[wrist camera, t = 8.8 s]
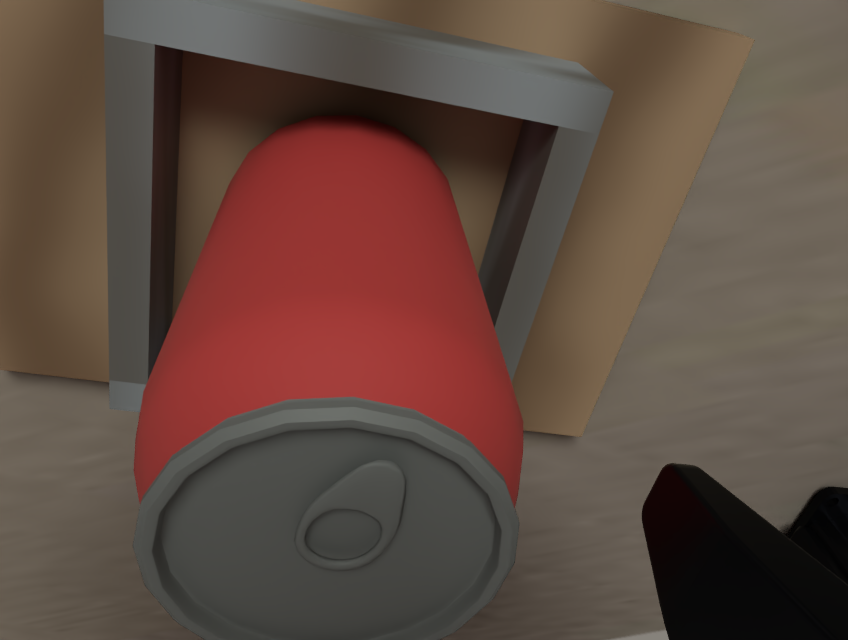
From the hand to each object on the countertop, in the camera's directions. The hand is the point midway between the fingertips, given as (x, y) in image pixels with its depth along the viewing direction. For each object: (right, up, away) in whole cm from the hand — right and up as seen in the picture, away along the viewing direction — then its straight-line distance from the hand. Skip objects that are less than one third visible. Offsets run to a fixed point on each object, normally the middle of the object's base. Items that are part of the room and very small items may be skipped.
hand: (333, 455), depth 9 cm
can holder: (-1, +5, +12) cm, 13 cm away
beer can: (-1, +5, +12) cm, 13 cm away
